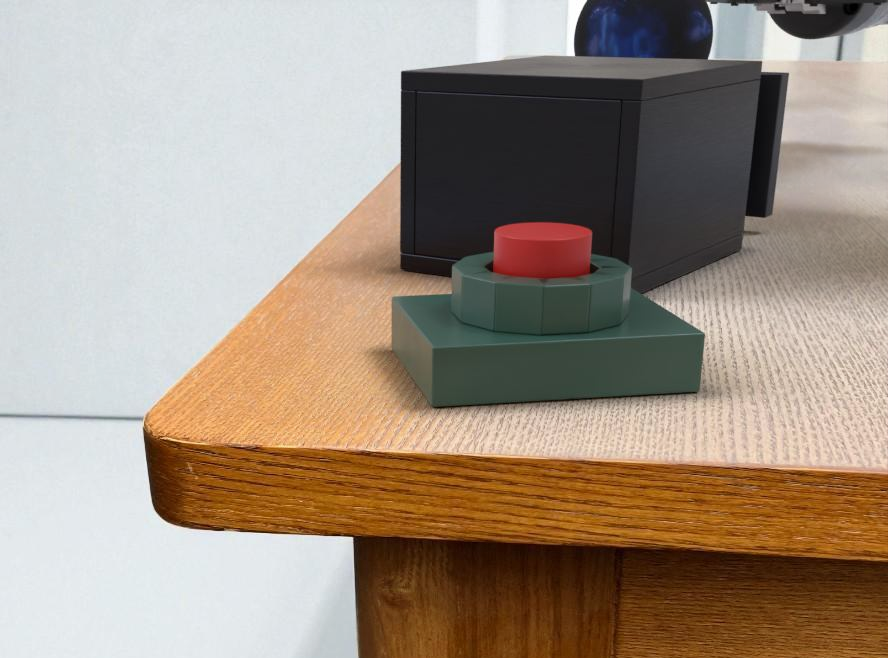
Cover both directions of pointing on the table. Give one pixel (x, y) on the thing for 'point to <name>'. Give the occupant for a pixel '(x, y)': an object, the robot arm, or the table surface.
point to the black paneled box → (579, 158)
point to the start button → (542, 250)
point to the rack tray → (766, 144)
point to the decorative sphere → (644, 29)
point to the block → (542, 338)
